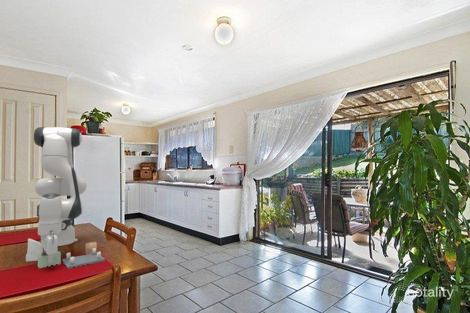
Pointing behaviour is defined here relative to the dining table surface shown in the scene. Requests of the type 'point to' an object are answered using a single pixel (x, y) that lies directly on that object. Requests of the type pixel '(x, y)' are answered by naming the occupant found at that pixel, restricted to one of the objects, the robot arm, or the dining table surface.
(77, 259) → the mounting plate
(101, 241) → the dining table surface
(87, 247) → the tan orange cube
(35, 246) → the white wedge bracket
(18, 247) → the dining table surface
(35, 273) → the dining table surface
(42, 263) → the pale green notched block
